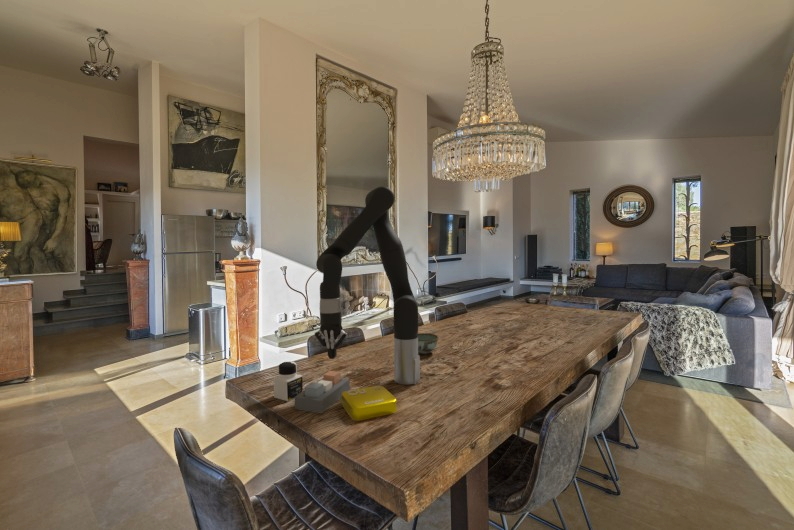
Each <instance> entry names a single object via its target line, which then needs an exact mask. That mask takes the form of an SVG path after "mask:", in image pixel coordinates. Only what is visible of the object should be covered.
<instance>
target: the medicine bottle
mask: <svg viewBox="0 0 794 530" xmlns="http://www.w3.org/2000/svg"><path fill="white" fill-rule="evenodd" d="M297 369H298V368H297V363H296V362H294V361H290V360H289V361H284V362H281V363H280V364H278V376H275V377H273V397H274V399H278V400H282V401H284V402H290V401H292V400H295V398H294V397H295V396H297V395H298V394H300V393H301V392H303V391H304V390H303V385H304V384H303V375H301V374H297V372H298V371H297Z"/></svg>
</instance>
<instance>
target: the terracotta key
mask: <svg viewBox="0 0 794 530" xmlns="http://www.w3.org/2000/svg"><path fill="white" fill-rule="evenodd" d="M322 378H323V379H324V380H325V381H332V385H336V384H338V383H339V382H340V378H341V371H336V370H329V371H327V372H325V373H324V374H323V377H322Z"/></svg>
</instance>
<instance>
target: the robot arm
mask: <svg viewBox="0 0 794 530" xmlns="http://www.w3.org/2000/svg"><path fill="white" fill-rule="evenodd" d="M364 202H365V203H364V204H365V207H364V208H363V209H362V211H360V213H359V214H358V215H357V216H356V217H355V218H354V219H353V220H352V221H351V222H350V223H349V224H348V225H347V226H346V227H345V228H344V229H343V230H342V232H340V234H339V235H338V237H337V238H336V239H335V240H334V241H333V243H332V244H331V245H329V246H328V247H327V248H326V249H324V250H323V252H322V253H321V254H320V255H319V256H318V258H317V259H316V262H315V264H316V269H317V271H318V272H320V273H322V281H321V282H320V283H319V284H320V285H319V321H320V323H319V324H320V326H319V330H318V331H316V332H314V336H315V337H316V339H317V340H318V342H319V344H321V346H322V347H325V348H326V349H327V356H328V359H330V360H334V359H335V358H336V357H337V354H338V353H337V352H338V351H337V350H338V349H337V348H339V347H340V346H342V345H343V343H344V342H345V341H346V339H347V338H348V336H349V332H346V331H344V330H343V329H344V327H343V325H342V301H341V287H340V284H341V279H342V274H343V263H342V259H343V258H344V257H346V256H349V255H350V254H351V253H352V252H353V250H354V249H355V248H356V247H357V245H358V244H359V243H360V242H361V240H362V239H363V238H364V237H365V235H366V234H367V232H368V231H369V230H370V229H371V227H373V231H374V234H375V239H376V240H375V241H376V244H377V247H378V251H379V256H380V260H381V264H382V266H383V271H384V272H385V275H386V277H387V279H388V281H389V284H390V287H391V294H392V299H393V346H394V349H393V350H394V351H393V357H394V361H393V362H394V364H393V365H394V382H395V383H397V384H399V385H406V386H407V385H417V383H418V382H420V381H419V380H421V378H420V377H421V375H420V374H421V373H420V372H421V369H420V368H421V367H420V366H421V365H420V360H421V358H420V357H421V356H420V354H419V353H418V334H419V307H418V306H419V305H418V303H417V300H416V298H415V295H414V293H413V290H412V287H411V285H410V280H409V272H408V265H407V259H406V255H405V250H404V246H403V243H402V240H401V239H400V237H399V236H398V234H397V233H396V231H395V230H394V228H393V226H392V224H391V221H390V217H389V210H390V209H391V208H392V207H393V206H394V203H395V193H394V192H393V190H392V189H391V188H390V187H388V186H384V185H383V186H378V187H375V188H374V189H372V190H370V191H369V192H367V194H366V195H365V199H364ZM339 336H340V338H339Z"/></svg>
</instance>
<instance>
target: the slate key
mask: <svg viewBox="0 0 794 530" xmlns="http://www.w3.org/2000/svg"><path fill="white" fill-rule="evenodd" d="M304 390H305V397H311V398H319V397H320V396H321V395H323V394H324V388H323V384H321V383H316V382H313V381H312V382H310V383H308V384H307V385H306V386H304Z"/></svg>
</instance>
